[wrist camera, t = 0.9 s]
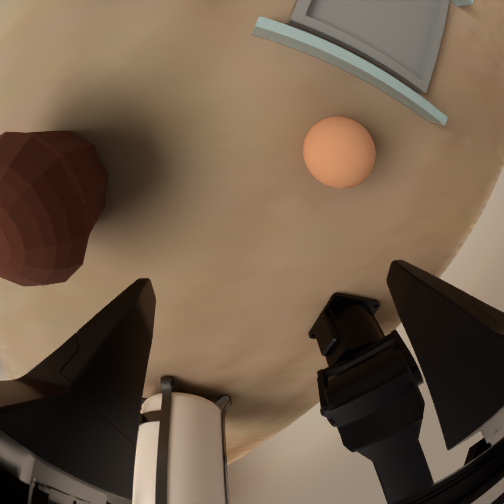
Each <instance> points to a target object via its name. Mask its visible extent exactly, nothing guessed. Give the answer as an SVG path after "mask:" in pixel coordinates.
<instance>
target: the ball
mask: <svg viewBox="0 0 504 504" xmlns="http://www.w3.org/2000/svg"><path fill="white" fill-rule="evenodd" d="M303 156H304V160H305V163H306V166H307V168H308V170H309V171H310V172H311V174H312V175H313V176H314V177H315V178H316V179H317V180H318V181H320V182H321V183H323V184H325V185H327V186H330V187H333V188H349V187H353V186H355V185H358V184H359V183H361V182H362V181H364V180H365V179H366V178H367V177H368V176H369V174H370V173H371V171H372V169H373V167H374V163H375V158H376V151H375V146H374V142H373V140H372V138H371V136H370V134H369V133H368V131H367V130H366V129H365V128H364V127H363V126H362V125H361V124H359V123H358V122H356V121H354V120H352V119H350V118H346V117H340V116H333V117H328V118H325V119H323V120H321V121H319V122H317V123H316V124H315V125H314V126H313V127H312V128H311V129H310V130H309V132H308V133H307V135H306V137H305V140H304V145H303Z"/></svg>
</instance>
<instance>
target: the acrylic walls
mask: <svg viewBox="0 0 504 504" xmlns="http://www.w3.org/2000/svg"><path fill="white" fill-rule="evenodd" d="M450 1H452V2H453V3H454V4H455V5H456V6H464V5H472V4H474V0H450ZM252 35H255V36H258V37H261V38H265V39H268V40H271V41H274V42H277V43H280V44H283V45H286V46H288V47H291V48H294V49H297V50H299V51H302V52H304V53H307V54H309V55H312V56H314V57H316V58H319V59H321V60H323V61H326V62H328V63H330V64H332V65H334V66H336V67H339V68H341V69H343V70H345V71H347V72H349V73H351V74H353V75H355V76H356V77H358V78H360V79H362V80H364V81H366V82H368V83H369V84H371V85H373V86H375V87H376V88H378V89H380V90H382V91H383V92H385V93H387V94H388V95H390V96H391V97H393V98H395V99H396V100H398V101H399V102H401V103H402V104H404V105H405V106H407V107H408V108H410V109H411V110H413V111H414V112H416V113H417V114H419V115H420V116H421V117H423V118H424V119H426V120H427V121H431V122H434V123H438V124H441V125H445V124H446V121H447V118H448V117H447V116H445V115H444V114H443V113H442V112H441V111H439V110H438V109H437V108H436V107H434V106H433V105H432V104H431V103H429V102H428V101H427V100H425V99H424V98H423V97H421V96H420V95H419V94H417V93H416V92H415V91H413V90H412V89H410V88H409V87H407V86H406V85H404V84H403V83H401V82H400V81H398V80H397V79H395V78H394V77H392V76H391V75H389V74H388V73H386V72H384V71H383V70H381V69H379V68H378V67H376V66H374V65H373V64H371V63H369V62H367V61H366V60H364V59H362V58H360V57H358V56H356V55H354V54H353V53H351V52H349V51H347V50H345V49H343V48H341V47H339V46H336V45H334V44H332V43H330V42H328V41H326V40H323V39H321V38H319V37H316V36H314V35H312V34H309V33H307V32H304V31H302V30H299V29H296V28H294V27H291V26H288V25H285V24H283V23H280V22H277V21H274V20H270V19H267V18H264V17H261V16H259V18H258V20H257V23H256V25H255V28H254V30H253V33H252Z"/></svg>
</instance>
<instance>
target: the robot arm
mask: <svg viewBox="0 0 504 504" xmlns="http://www.w3.org/2000/svg"><path fill="white" fill-rule="evenodd" d="M387 285H388V287H389V290H390V293H391V295H392V298H393V301H394V304H395V307H396V309H397V312H398V315H399V317H400V319H401V322H402V324H403V326H404V328H405V331H406V333H407V335H408V337H409V340H410V342H411V345H412V347H413V349H414V351H415V354H416V357H417V359H418V362H419V364H420V367H421V369H422V372H423V375H424V377H425V380H426V383H427V385H428V388H429V391H430V394H431V397H432V400H433V403H434V406H435V409H436V412H437V416H438V419H439V422H440V426H441V429H442V432H443V436H444V440H445V443H446V447H447V450H450V449H452V448H454V447H455V446H457V445H459V444H460V443H462V442H464V441H465V440H467V439H468V438H470V437H472V436H473V435H475V434H476V433H478V432H479V431H481V432H482V434H483V436H484V438H483V439H482V440H480V441H479V442H477V443H476V444H475V445H473V446H472V447H470V448H469V451H468V455H467V458H466V461H465V464H464V466H463V467H461V468H460V469H458V470H457V471H455V472H453V473H452V474H450V475H448V476H447V477H445V478H443V479H441V480H440V481H438V482H436V483H434V482H433V479H432V476H431V473H430V470H429V468H428V465H427V462H426V459H425V456H424V453H423V451H422V448H421V445H420V443H419V440H418V438H419V433H420V428H421V423H422V419H423V412H424V406H425V402H424V400H423V397H422V395H421V392H420V390H419V388H418V386H419V385H421V384H422V383H423V378H422V375H421V373H420V371H419V368H418V366H417V364H416V362H415V360H414V358H413V356H412V354H411V353H410V351H409V350H408V348H407V346H406V345H405V343H404V342H403V340H402V338H401V337H400V335H399V334H398V332H397V331H396V329H395V330H394V331H392V332H391V333H390V334H389V335H387V336H385V335H384V333H383V331H382V330H381V328H380V326H379V324H378V322H377V320H376V319H375V317H374V313H375V312H376V311H377V309H378V308H379V306H380V303H379V302H378V301H377V300H372V299H366V298H361V297H355V296H350V295H344V294H339V293H336V294H333V295H332V296H331V298H330V300H329V301H328V303H327V305H326V306H325V308H324V310H323V311H322V312H321V314H320V316H319V317H318V319H317V320H316V322H315V324H314V325H313V327H312V329H311V330H310V332H309V338H311V339H317V342H318V345H319V348H320V351H321V354H322V356H325V357H326V360H327V363H328V366H329V367H327V368H325V369H321V370H319V371H317V374H318V378H317V381H318V389H319V397H320V405H321V409H320V412H321V414H322V416H324V417H327V419H328V421H329V422H330V424H331V425H332V426H334V427H337V428H338V431H339V433H340V436H341V439H342V442H343V445H344V446H345V447H346V448H347V449H349V450H350V451H351V452H356V451H357V452H359V453H360V454H362V455H363V456H365V457H366V458H368V459H370V460H371V461H372V462H373V464H374V467H375V470H376V472H377V475H378V478H379V481H380V483H381V486H382V489H383V492H384V495H385V498H386V501H387V504H504V312H502V311H500V310H497V309H496V308H494V307H492V306H490V305H488V304H486V303H484V302H482V301H480V300H478V299H477V298H475V297H473V296H471V295H469V294H467V293H465V292H464V291H462V290H460V289H458V288H456V287H454V286H453V285H451V284H449V283H447V282H445V281H443V280H441V279H439V278H437V277H435V276H433V275H431V274H429V273H428V272H426V271H424V270H422V269H420V268H418V267H416V266H414V265H411V264H409V263H407V262H405V261H403V260H394V261H392V263H391V265H390V269H389V272H388V276H387ZM335 298H336V299H335ZM155 306H156V297H155V293H154V290H153V287H152V283H151V281H150V279H149V278H139V279H137V280H136V281H135V282H134V283H133V284H131V285H130V286H129V287H128V288H127V289H125V290H124V291H123V292H122V293H121V294H119V295H118V296H117V297H116V298H115V299H114V300H112V301H111V302H110V303H109V304H108V305H107V306H105V307H104V308H103V309H102V310H101V311H100V312H99V313H97V314H96V315H95V316H94V317H93V318H92V319H91V320H89V321H88V322H87V323H86V324H85V325H84V326H83V327H82V328H80V329H79V330H78V331H77V333H75V334H74V335H73V336H72V337H70V338H69V339H68V340H67V341H66V342H65V343H64V344H63V345H61V346H60V347H59V348H58V349H57V350H55V351H54V352H53V353H52V354H51V355H49V356H48V357H47V358H46V359H44V360H43V361H42V362H41V363H39V364H38V365H37V366H36V367H34V368H33V369H32V370H31V371H29V372H28V373H27V374H26V375H24V376H22V377H21V378H18V379H15V380H8V381H0V504H106V500H107V495H110V496H114V497H118V498H123V499H127V500H132V496H133V478H134V464H135V453H136V446H135V445H136V441H137V432H138V424H139V416H140V409H141V402H142V395H143V389H144V383H145V377H146V371H147V365H148V360H149V354H150V349H151V344H152V338H153V327H154V316H155Z"/></svg>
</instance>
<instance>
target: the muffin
mask: <svg viewBox="0 0 504 504" xmlns="http://www.w3.org/2000/svg"><path fill="white" fill-rule="evenodd" d="M107 175H108V174H107V172H106V171H105V169H104V167H103V166H102V164H101V162H100V161H99V158H98V155H97V153H96V150H95V147H94V144H91V143H89V142H87V141H84V140H82V139H80V138H78V137H77V136H75V135H74V134H72V133H71V132H69V131H45V132H29V133H21V132H5V133H3V134H2V135H0V277H1V278H3V279H6V280H8V281H11V282H14V283H16V284H19V285H21V286H37V285H49V284H55V283H62V282H66V281H67V280H68V279H69V278H70V277H71V276H72V275H73V274H74V273H75V272H76V271H77V270H78V269H79V268H80V267H81V266H82V265H83V261H84V256H85V251H86V247H87V243H88V238H89V235H90V233H91V231H92V229H93V227H94V225H95V223H96V221H97V219H98V217H99V215H100V214H101V212H102V210H103V208H104V206H105V185H106V180H107Z"/></svg>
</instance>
